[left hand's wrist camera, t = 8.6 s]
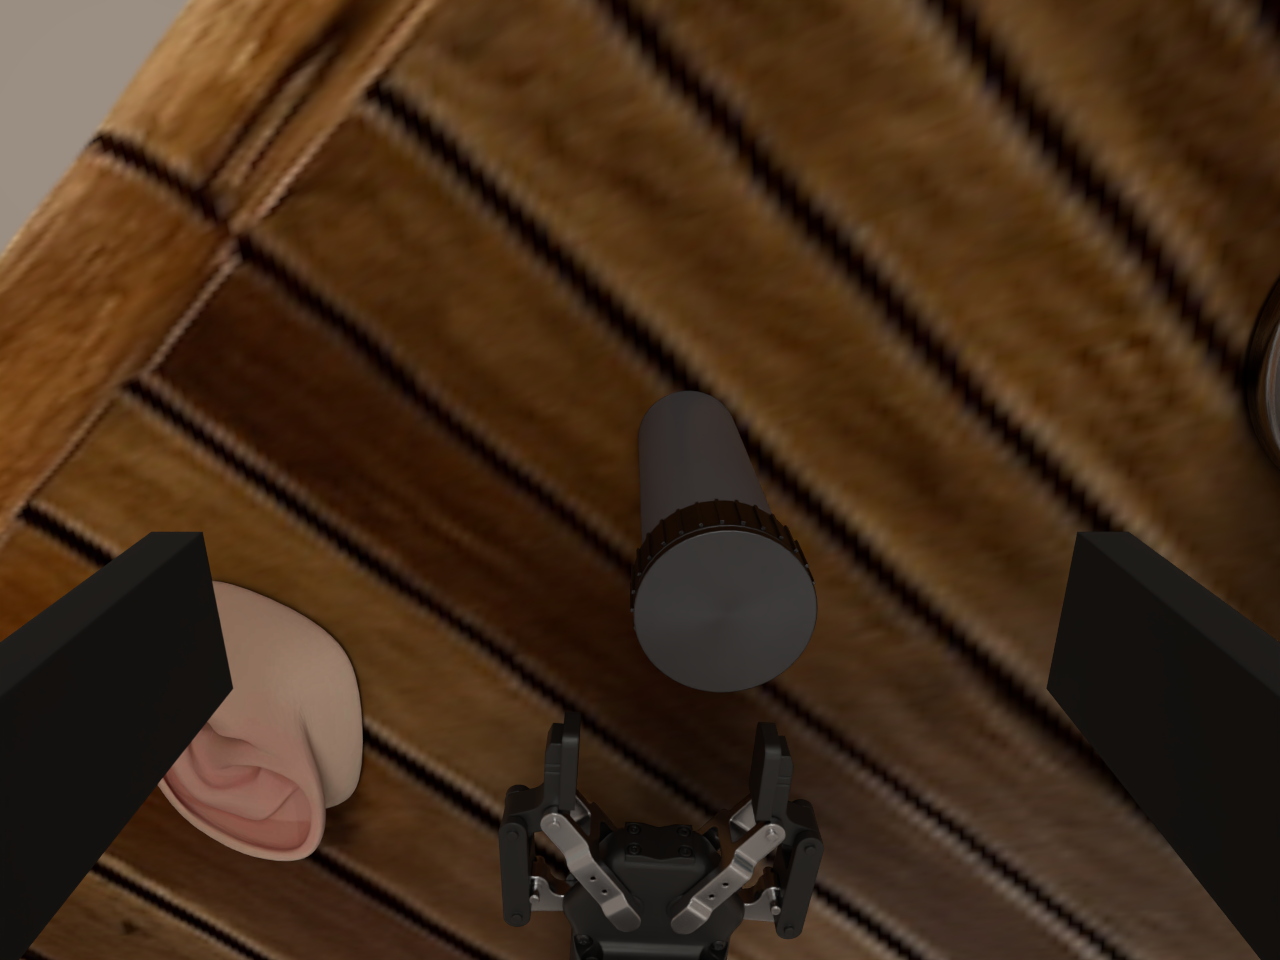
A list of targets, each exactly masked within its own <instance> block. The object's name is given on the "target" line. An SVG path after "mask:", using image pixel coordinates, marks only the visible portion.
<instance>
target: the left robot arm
mask: <svg viewBox="0 0 1280 960" xmlns="http://www.w3.org/2000/svg"><path fill="white" fill-rule="evenodd" d="M1247 401H1248V408H1249V413H1250V418H1251V422H1252V425H1253V428H1254V431H1255V433H1256V436H1257V438H1258V440H1259V442H1260V444H1261V446H1262V448H1263V449H1264V451H1265V452H1266V454H1267V456H1268V457H1269V458H1270V459H1271V461H1272V462H1273V463H1274V464H1275V465H1276V467H1277V468H1278V469H1279V470H1280V281H1279V282H1278V284H1277V285H1276V287H1275V289H1274V291H1273V293H1272V294H1271V296H1270V298H1269V300H1268V302H1267V304H1266V306H1265V308H1264V311H1263V313H1262V315H1261V318H1260V320H1259V323H1258V326H1257V329H1256V332H1255V335H1254V338H1253V342H1252V346H1251V350H1250V355H1249V361H1248V369H1247ZM232 690H233V684H232V679H231V674H230V669H229V664H228V659H227V653H226V648H225V643H224V638H223V633H222V628H221V623H220V618H219V613H218V608H217V603H216V598H215V593H214V588H213V582H212V577H211V572H210V567H209V562H208V557H207V552H206V547H205V542H204V537H203V532H151V533H149V534H148V535H147V536H145V537H144V538H142V539H141V540H140V541H138V542H137V543H136V544H134V545H133V546H132V547H130V548H129V549H127V550H126V551H125V552H123V553H122V554H121V555H119V556H118V557H116V558H115V559H114V560H112V561H111V562H110V563H108V564H107V565H106V566H104V567H103V568H101V569H100V570H99V571H97V572H96V573H95V574H93V575H92V576H91V577H89V578H88V579H86V580H85V581H84V582H82V583H81V584H80V585H78V586H77V587H75V588H74V589H73V590H71V591H70V592H69V593H67V594H66V595H65V596H63V597H62V598H60V599H59V600H58V601H56V602H55V603H54V604H52V605H51V606H50V607H48V608H47V609H45V610H44V611H43V612H41V613H40V614H39V615H37V616H36V617H34V618H33V619H32V620H30V621H29V622H28V623H26V624H25V625H24V626H22V627H21V628H19V629H18V630H17V631H15V632H14V633H13V634H11V635H10V636H9V637H7V638H6V639H4V640H3V641H2V642H0V960H19V959H20V958H21V957H22V955H23V954H24V953H25V952H26V950H27V949H28V948H29V946H30V945H31V944H32V943H33V941H34V940H35V939H36V938H37V936H38V935H39V934H40V933H41V931H42V930H43V929H44V927H45V926H46V925H47V924H48V922H49V921H50V920H51V919H52V917H53V916H54V915H55V914H56V912H57V911H58V910H59V909H60V907H61V906H62V905H63V903H64V902H65V901H66V900H67V898H68V897H69V896H70V895H71V893H72V892H73V891H74V890H75V888H76V887H77V886H78V885H79V883H80V882H81V881H82V879H83V878H84V877H85V876H86V874H87V873H88V872H89V871H90V869H91V868H92V867H93V866H94V864H95V863H96V862H97V860H98V859H99V858H100V857H101V855H102V854H103V853H104V852H105V850H106V849H107V848H108V847H109V845H110V844H111V843H112V842H113V840H114V839H115V838H116V836H117V835H118V834H119V833H120V831H121V830H122V829H123V828H124V826H125V825H126V824H127V823H128V821H129V820H130V819H131V817H132V816H133V815H134V814H135V812H136V811H137V810H138V809H139V807H140V806H141V805H142V804H143V802H144V801H145V800H146V799H147V797H148V796H149V795H150V793H151V792H152V791H153V790H154V788H155V787H156V786H157V785H158V783H159V782H160V781H161V780H162V778H163V777H164V776H165V774H166V773H167V772H168V771H169V769H170V768H171V767H172V766H173V764H174V763H175V762H176V761H177V759H178V758H179V757H180V756H181V754H182V753H183V752H184V750H185V749H186V748H187V747H188V745H189V744H190V743H191V742H192V740H193V739H194V738H195V737H196V735H197V734H198V733H199V731H200V730H201V729H202V728H203V726H204V725H205V724H206V723H207V721H208V720H209V719H210V718H211V716H212V715H213V714H214V713H215V711H216V710H217V709H218V707H219V706H220V705H221V704H222V702H223V701H224V700H225V699H226V697H227V696H228V695H229V694H230V692H231V691H232ZM1047 690H1048V691H1049V692H1050V694H1051V695H1052V696H1053V697H1054V699H1055V700H1056V701H1057V702H1058V704H1059V705H1060V706H1061V707H1062V709H1063V710H1064V711H1065V713H1066V714H1067V715H1068V716H1069V718H1070V719H1071V720H1072V721H1073V723H1074V724H1075V725H1076V726H1077V728H1078V729H1079V730H1080V731H1081V733H1082V734H1083V735H1084V737H1085V738H1086V739H1087V740H1088V742H1089V743H1090V744H1091V745H1092V747H1093V748H1094V749H1095V750H1096V752H1097V753H1098V754H1099V756H1100V757H1101V758H1102V759H1103V761H1104V762H1105V763H1106V764H1107V766H1108V767H1109V768H1110V769H1111V771H1112V772H1113V773H1114V774H1115V776H1116V777H1117V778H1118V780H1119V781H1120V782H1121V783H1122V785H1123V786H1124V787H1125V788H1126V790H1127V791H1128V792H1129V793H1130V795H1131V796H1132V797H1133V799H1134V800H1135V801H1136V802H1137V804H1138V805H1139V806H1140V807H1141V809H1142V810H1143V811H1144V812H1145V814H1146V815H1147V816H1148V817H1149V819H1150V820H1151V821H1152V823H1153V824H1154V825H1155V826H1156V828H1157V829H1158V830H1159V831H1160V833H1161V834H1162V835H1163V836H1164V838H1165V839H1166V840H1167V842H1168V843H1169V844H1170V845H1171V847H1172V848H1173V849H1174V850H1175V852H1176V853H1177V854H1178V855H1179V857H1180V858H1181V859H1182V860H1183V862H1184V863H1185V864H1186V866H1187V867H1188V868H1189V869H1190V871H1191V872H1192V873H1193V874H1194V876H1195V877H1196V878H1197V879H1198V881H1199V882H1200V883H1201V885H1202V886H1203V887H1204V888H1205V890H1206V891H1207V892H1208V893H1209V895H1210V896H1211V897H1212V898H1213V900H1214V901H1215V902H1216V903H1217V905H1218V906H1219V907H1220V909H1221V910H1222V911H1223V912H1224V914H1225V915H1226V916H1227V917H1228V919H1229V920H1230V921H1231V922H1232V924H1233V925H1234V926H1235V927H1236V929H1237V930H1238V931H1239V933H1240V934H1241V935H1242V936H1243V938H1244V939H1245V940H1246V941H1247V943H1248V944H1249V945H1250V946H1251V948H1252V949H1253V950H1254V952H1255V953H1256V954H1257V955H1258V957H1259V958H1260V959H1261V960H1280V642H1278V641H1277V640H1276V639H1274V638H1273V637H1271V636H1270V635H1269V634H1267V633H1266V632H1265V631H1263V630H1262V629H1261V628H1259V627H1258V626H1256V625H1255V624H1254V623H1252V622H1251V621H1250V620H1248V619H1247V618H1246V617H1244V616H1243V615H1241V614H1240V613H1239V612H1237V611H1236V610H1235V609H1233V608H1232V607H1230V606H1229V605H1228V604H1226V603H1225V602H1224V601H1222V600H1221V599H1220V598H1218V597H1217V596H1215V595H1214V594H1213V593H1211V592H1210V591H1209V590H1207V589H1206V588H1205V587H1203V586H1202V585H1200V584H1199V583H1198V582H1196V581H1195V580H1194V579H1192V578H1191V577H1189V576H1188V575H1187V574H1185V573H1184V572H1183V571H1181V570H1180V569H1179V568H1177V567H1176V566H1174V565H1173V564H1172V563H1170V562H1169V561H1168V560H1166V559H1165V558H1164V557H1162V556H1161V555H1159V554H1158V553H1157V552H1155V551H1154V550H1153V549H1151V548H1150V547H1148V546H1147V545H1146V544H1144V543H1143V542H1142V541H1140V540H1139V539H1138V538H1136V537H1135V536H1133V535H1132V534H1131V533H1129V532H1077V537H1076V542H1075V547H1074V552H1073V557H1072V562H1071V567H1070V572H1069V577H1068V582H1067V588H1066V593H1065V598H1064V603H1063V608H1062V613H1061V618H1060V623H1059V628H1058V633H1057V638H1056V643H1055V648H1054V653H1053V659H1052V664H1051V669H1050V674H1049V679H1048V684H1047Z"/></svg>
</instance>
